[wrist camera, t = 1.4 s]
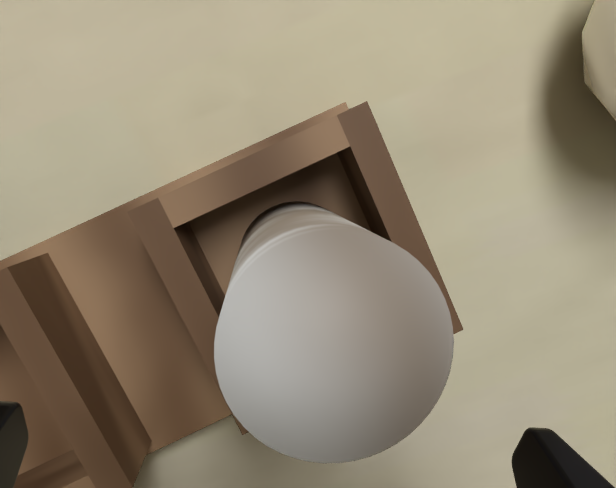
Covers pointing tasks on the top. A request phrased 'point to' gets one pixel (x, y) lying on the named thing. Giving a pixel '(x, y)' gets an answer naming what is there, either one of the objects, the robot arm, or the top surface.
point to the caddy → (231, 313)
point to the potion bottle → (601, 53)
